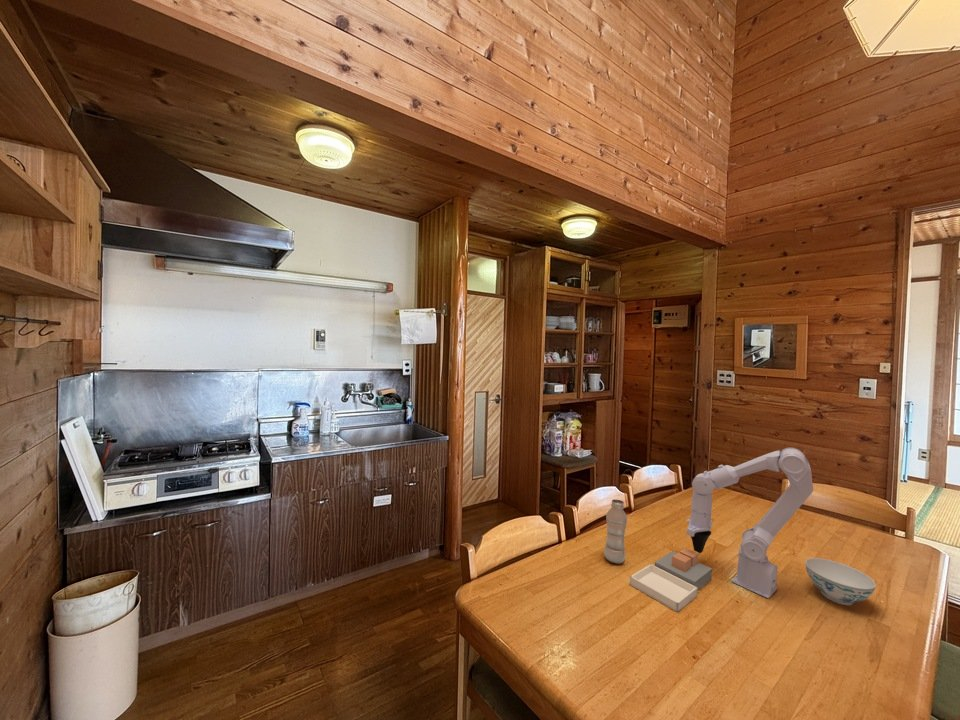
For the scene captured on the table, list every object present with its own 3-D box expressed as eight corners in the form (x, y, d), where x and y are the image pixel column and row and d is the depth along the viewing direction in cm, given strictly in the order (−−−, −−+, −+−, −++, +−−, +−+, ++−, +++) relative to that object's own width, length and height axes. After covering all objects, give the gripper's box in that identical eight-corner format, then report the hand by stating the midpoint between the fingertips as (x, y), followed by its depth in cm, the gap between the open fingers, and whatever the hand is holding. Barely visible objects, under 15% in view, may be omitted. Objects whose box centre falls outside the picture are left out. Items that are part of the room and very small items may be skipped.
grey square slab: (711, 579, 117) (712, 568, 116) (694, 593, 109) (695, 581, 109) (672, 561, 126) (673, 550, 126) (654, 572, 119) (654, 561, 119)
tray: (697, 596, 108) (697, 587, 108) (677, 612, 101) (678, 603, 101) (650, 571, 119) (650, 563, 119) (629, 584, 112) (630, 576, 112)
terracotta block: (690, 567, 116) (691, 558, 116) (684, 572, 114) (685, 562, 114) (677, 561, 119) (678, 552, 119) (671, 565, 117) (672, 556, 117)
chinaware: (862, 593, 113) (864, 568, 113) (882, 624, 100) (885, 595, 100) (798, 576, 121) (800, 552, 121) (809, 602, 108) (812, 576, 108)
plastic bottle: (626, 568, 121) (630, 506, 120) (604, 564, 122) (608, 504, 121) (623, 557, 127) (626, 499, 126) (602, 554, 128) (606, 496, 128)
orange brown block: (697, 562, 119) (698, 553, 119) (692, 566, 117) (692, 557, 117) (684, 556, 123) (685, 547, 122) (678, 560, 120) (679, 551, 120)
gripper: (697, 501, 131) (695, 540, 132) (678, 511, 122) (675, 552, 123) (720, 509, 125) (717, 549, 126) (701, 519, 117) (698, 562, 117)
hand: (698, 551), depth 124 cm, fingers closed
